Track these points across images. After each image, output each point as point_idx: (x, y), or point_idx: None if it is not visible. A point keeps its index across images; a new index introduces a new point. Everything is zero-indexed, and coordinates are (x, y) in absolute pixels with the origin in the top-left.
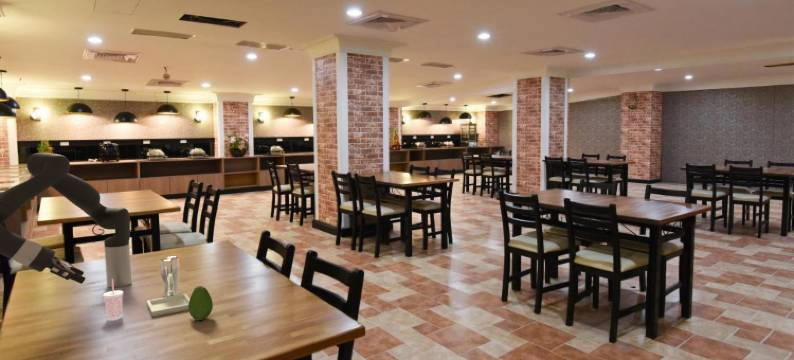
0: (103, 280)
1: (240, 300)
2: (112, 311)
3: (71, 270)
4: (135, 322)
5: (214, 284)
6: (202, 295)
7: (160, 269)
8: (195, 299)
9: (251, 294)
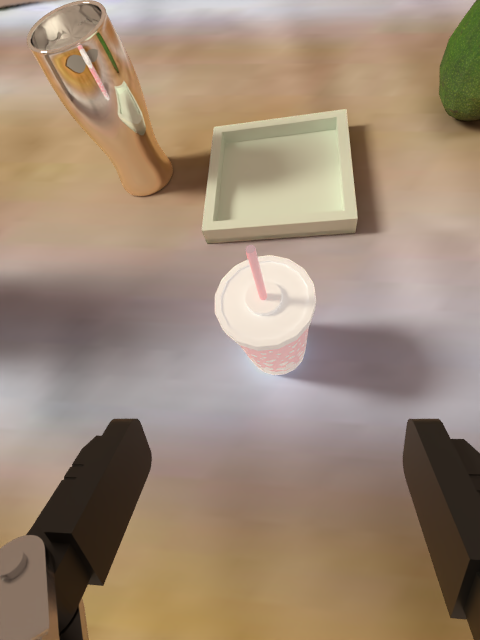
0: None
1: (339, 33)
2: (305, 342)
3: (85, 563)
4: (384, 284)
5: (139, 82)
6: None
7: (84, 104)
8: None
9: (301, 14)
